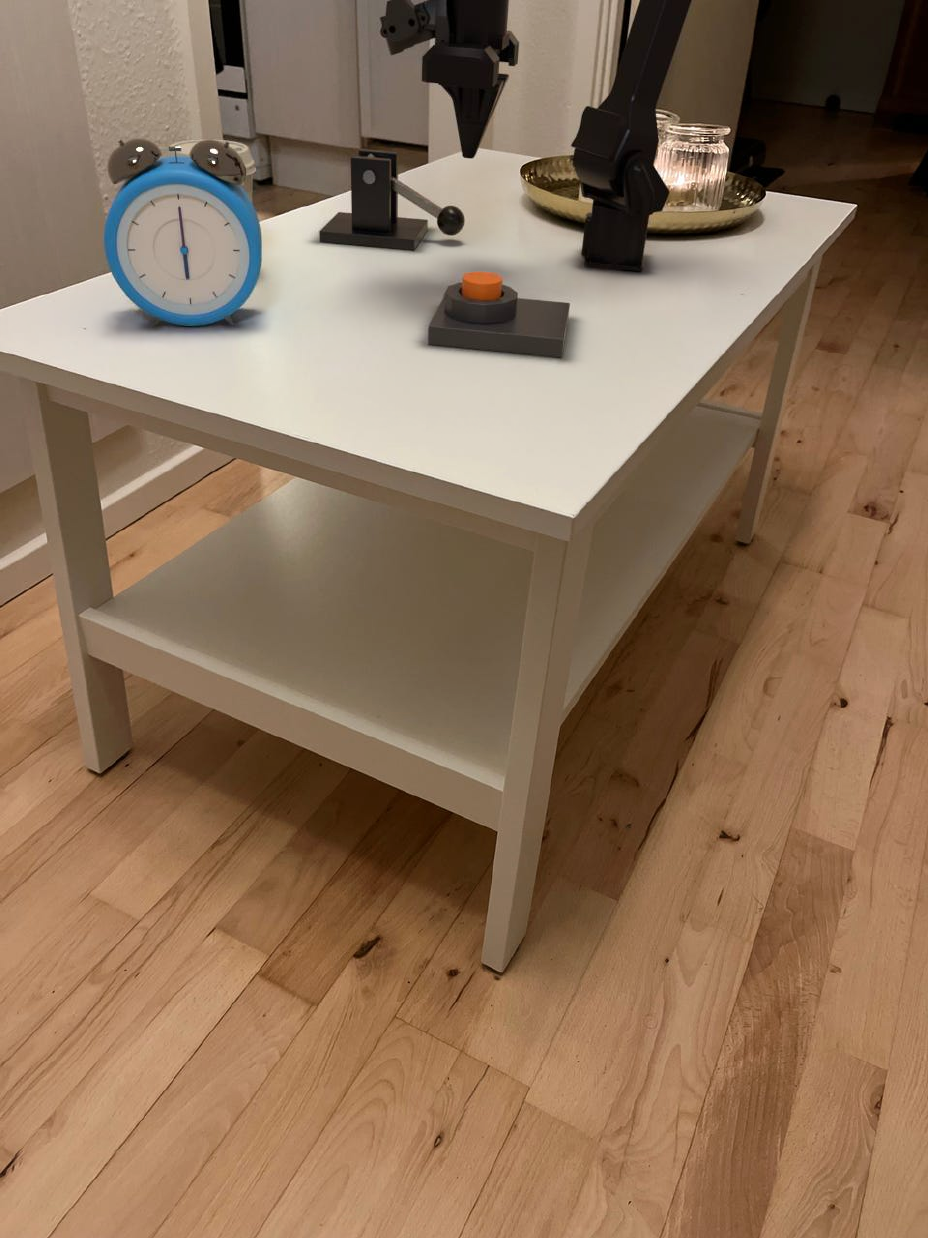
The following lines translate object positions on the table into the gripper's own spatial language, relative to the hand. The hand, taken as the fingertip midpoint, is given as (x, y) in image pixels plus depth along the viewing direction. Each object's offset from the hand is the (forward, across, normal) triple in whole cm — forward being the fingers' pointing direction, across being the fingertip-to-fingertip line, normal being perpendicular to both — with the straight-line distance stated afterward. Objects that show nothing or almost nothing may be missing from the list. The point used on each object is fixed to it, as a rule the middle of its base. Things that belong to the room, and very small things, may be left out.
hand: (468, 157), depth 95 cm
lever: (+9, -15, -9) cm, 19 cm away
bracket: (+12, -15, -13) cm, 23 cm away
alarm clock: (+12, +18, -22) cm, 31 cm away
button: (+9, +13, +4) cm, 16 cm away
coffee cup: (+12, +5, -24) cm, 28 cm away
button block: (+12, +13, +6) cm, 19 cm away
